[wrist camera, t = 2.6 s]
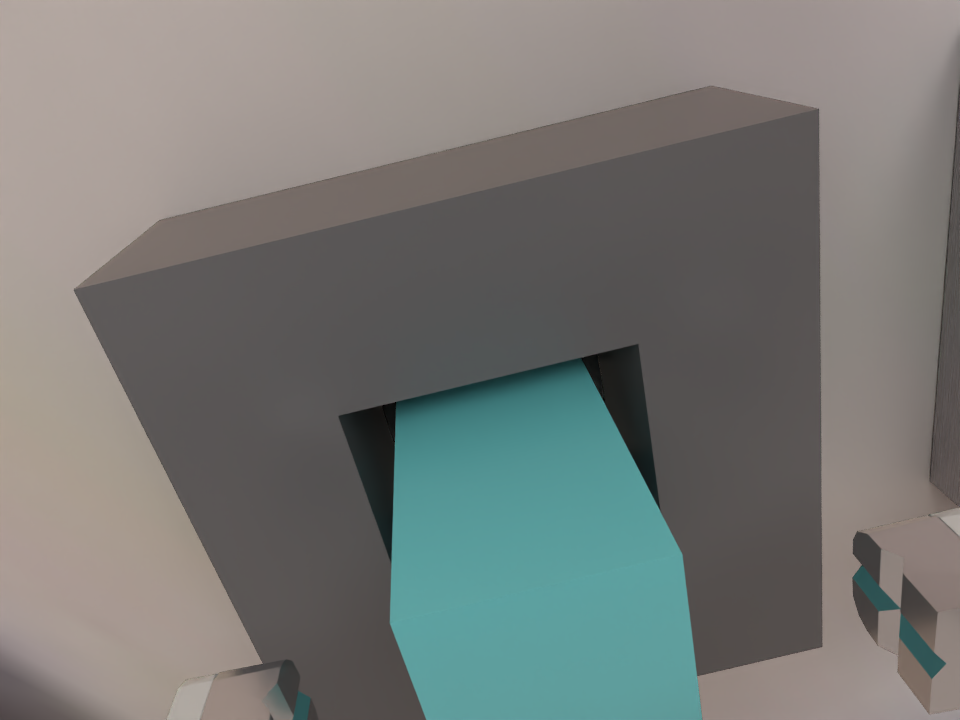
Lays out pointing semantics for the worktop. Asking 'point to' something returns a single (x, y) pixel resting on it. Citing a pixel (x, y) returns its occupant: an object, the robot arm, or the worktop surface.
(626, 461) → the plug
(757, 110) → the holster
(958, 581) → the robot arm
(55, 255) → the worktop surface
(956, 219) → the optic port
